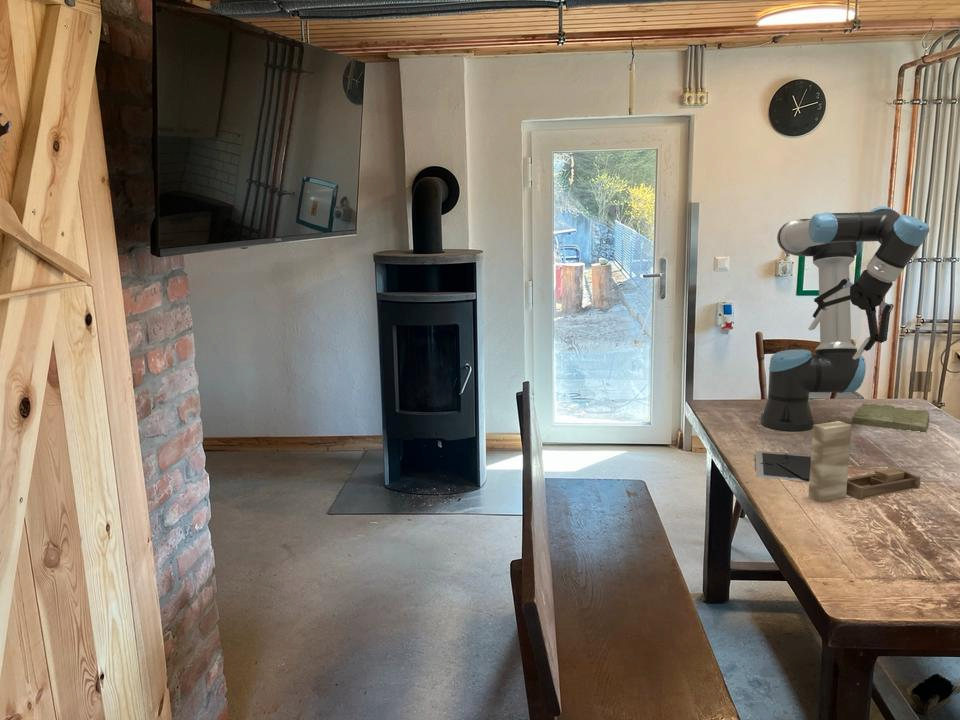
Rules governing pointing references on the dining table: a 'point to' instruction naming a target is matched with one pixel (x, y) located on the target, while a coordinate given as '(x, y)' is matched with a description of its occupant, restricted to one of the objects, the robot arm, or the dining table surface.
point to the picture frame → (783, 466)
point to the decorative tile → (891, 417)
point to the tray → (880, 485)
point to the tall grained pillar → (829, 461)
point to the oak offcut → (889, 475)
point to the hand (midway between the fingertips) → (833, 343)
